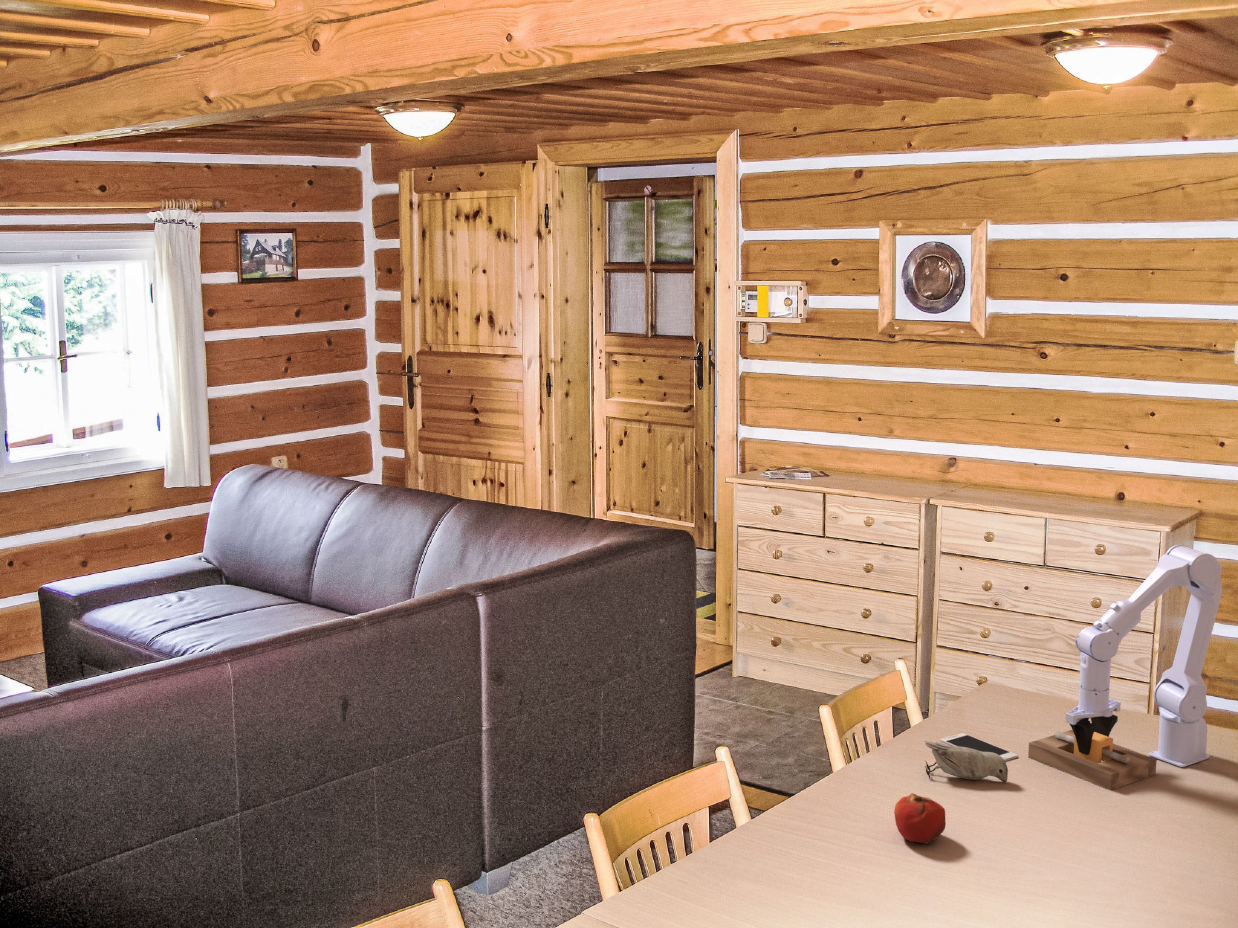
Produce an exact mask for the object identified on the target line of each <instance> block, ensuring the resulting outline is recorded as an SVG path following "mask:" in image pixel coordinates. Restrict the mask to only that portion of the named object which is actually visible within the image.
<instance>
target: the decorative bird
mask: <svg viewBox="0 0 1238 928" xmlns="http://www.w3.org/2000/svg"><path fill="white" fill-rule="evenodd" d="M924 743H925V746H926V747H927V748H930V749H931V753H932V755H933V757H934V760H935V762H934V763H933V764H931V765H929V763H928V762H927V761H925V765H924V767H925V773H926V775H927V776H928V780H930V779H931V775H930V774H931V773H932V772H935V771H936V770H938V769H940V770H941V771H942V772H943V773H944V774H947V775H952V776H953V777H958V778H961V779H966V780H982V779H985V778H987V777H994V778H997V779H999V780H1000V781H1001V782H1002V783H1005V784H1007V781H1008V778H1009V777H1008V776H1009V775H1008V774H1009V769H1008V765H1007V763H1006V762H1007V761H1005V760H1004V759H1003V758H1002V757H1001V756H1000V755H998V754H996V753H992V752H982V751H978V750H975V749H971V748H967V747H960V746H950V745H947V744H945V743H942V742H938V741H936V742H934V741H931V740H930V741H927V740H924ZM936 764H937V765H936ZM935 765H936V766H935ZM934 766H935V767H934ZM931 767H934V768H933V769H932V770H931Z"/></svg>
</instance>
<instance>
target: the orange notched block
mask: <svg viewBox="0 0 1238 928" xmlns="http://www.w3.org/2000/svg"><path fill="white" fill-rule="evenodd" d="M1113 744H1114V738H1113V737H1110V736H1109V737H1107V736H1105V735H1102V734H1099V733H1096V732H1094V734H1093V737H1092V742H1091V749H1090V753H1089V755H1085V754H1083V753H1080V752H1079V750H1078V745H1077V741H1076V737H1075V736H1074V755H1077V756H1080V757H1082V758H1085V759H1087V760H1090V761H1093V762H1095V763H1101V762H1102V761H1104V760H1105V761H1107V760H1110V759H1111V758H1108V757H1106V756H1103V755H1102V748H1104V749H1107V750H1110V751H1112V750H1113Z"/></svg>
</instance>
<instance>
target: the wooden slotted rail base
mask: <svg viewBox="0 0 1238 928" xmlns="http://www.w3.org/2000/svg"><path fill="white" fill-rule="evenodd" d="M1074 736H1075V734H1074V732H1073V730H1072V729H1070V730H1066V731H1064V732H1060V731H1056V733H1055V734H1054V735H1050V736H1047V737H1043V738H1039V739H1037V740H1033V741H1031V742H1028V758H1029V759H1032V760H1034V761H1036V762H1038V763H1041V764H1044V765H1047V766H1049V767H1052V768H1053V769H1056V770H1059V771H1061V772H1064V773H1066V774H1069V775H1071V776H1074V777H1075V778H1076V777H1077V778H1079V779H1082V780H1083V781H1086V782H1089V783H1091V784H1094V785H1096V786H1099V787H1101V788H1104V789H1107V790H1108V791H1112V790H1115V789H1118V788H1121V787H1124V786H1127V785H1129V784H1132V783H1135V782H1138V781H1141V780H1144V779H1146V778H1149V777H1153V776H1155V775H1157V774H1156V773H1157V762H1158V761H1157V760H1158V759H1157V758H1154V757H1152V756H1149V755H1146V754H1144V753H1140V752H1138V751H1135V750H1133V749H1131V748H1127V747H1124V746H1121V745H1119V744H1116V743H1113V750H1112V751H1110V750H1107V749H1104V748H1102V755H1103V756H1106V757H1108V758H1111V759H1110V760H1107V761H1105V760H1103V761H1101V763H1095V762H1093V761H1090V760H1087V759H1085V758H1082V757H1080V756H1077V755H1074Z"/></svg>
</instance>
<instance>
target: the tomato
mask: <svg viewBox="0 0 1238 928" xmlns="http://www.w3.org/2000/svg"><path fill="white" fill-rule="evenodd" d="M893 813H894V820H895V826H896V828H897V831H898V832H899V834H900V835H901V836H902V837H903V839H905V840H908V841H910V842H915V843H921V844H927V843H930V842H933V841H934V840H936V839H937V838H939V837H940V836H941V835H942V834H943V832H944V831H945V829H946V822H947V821H946V810H945V808H944V807H943V806H942V804H940V803H938V802H937V801H935V800H934V799H932V798H930V797H927V796H926V797H925V796H921V795H917V794H915V793H913V792H912V793H910V794H909V795H906V796H902V797H901V798H900V799H899V800H898V801H897V802H896V803H895V805H894V811H893Z"/></svg>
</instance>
